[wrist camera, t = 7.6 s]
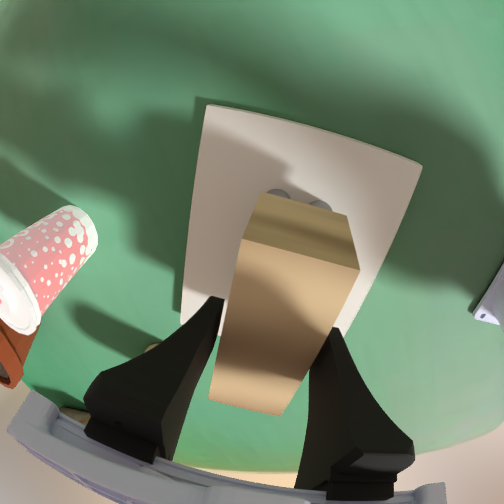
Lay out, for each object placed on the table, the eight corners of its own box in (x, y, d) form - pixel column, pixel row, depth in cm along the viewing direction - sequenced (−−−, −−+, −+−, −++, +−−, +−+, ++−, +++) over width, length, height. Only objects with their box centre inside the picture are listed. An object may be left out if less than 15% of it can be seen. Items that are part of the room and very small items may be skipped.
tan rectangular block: (261, 191, 14) (241, 238, 10) (346, 215, 14) (360, 270, 10) (226, 340, 19) (207, 398, 15) (287, 356, 19) (280, 416, 15)
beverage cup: (98, 197, 20) (-51, 323, 8) (112, 269, 23) (7, 403, 11) (43, 194, 21) (-85, 293, 9) (59, 258, 24) (-42, 366, 12)
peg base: (417, 162, 15) (444, 183, 12) (328, 352, 24) (328, 392, 20) (212, 104, 16) (186, 109, 12) (184, 315, 24) (166, 351, 21)
